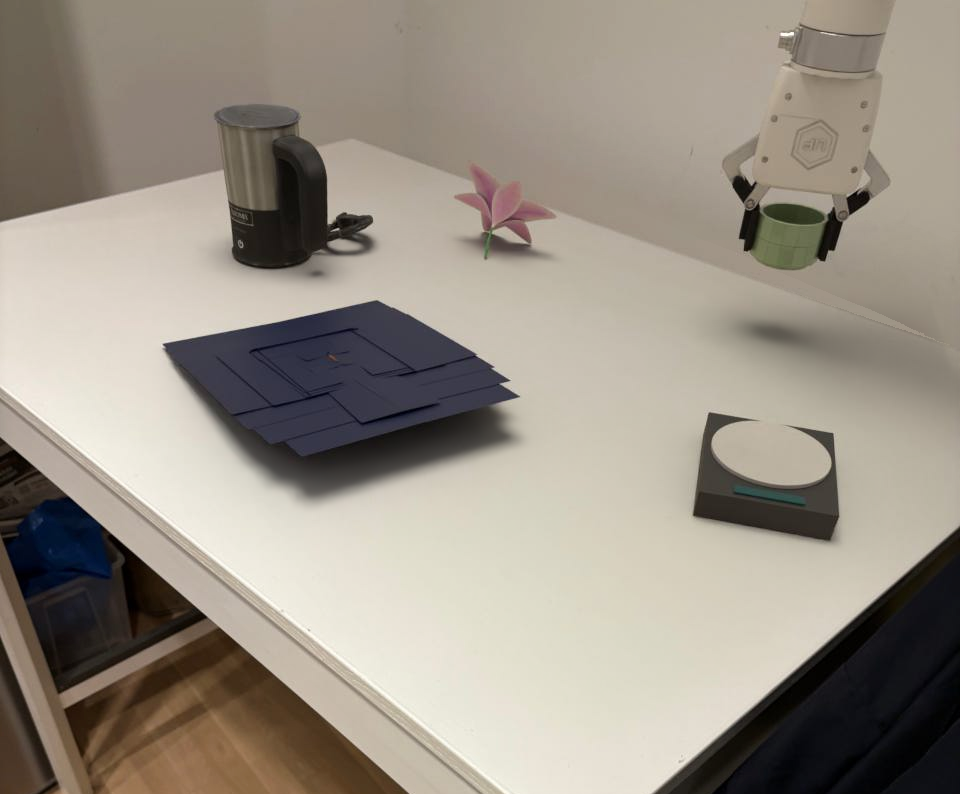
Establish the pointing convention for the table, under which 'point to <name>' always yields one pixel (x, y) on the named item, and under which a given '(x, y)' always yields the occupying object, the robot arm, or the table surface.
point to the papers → (339, 375)
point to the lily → (502, 204)
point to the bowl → (788, 235)
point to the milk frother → (276, 187)
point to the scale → (768, 476)
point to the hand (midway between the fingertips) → (784, 250)
